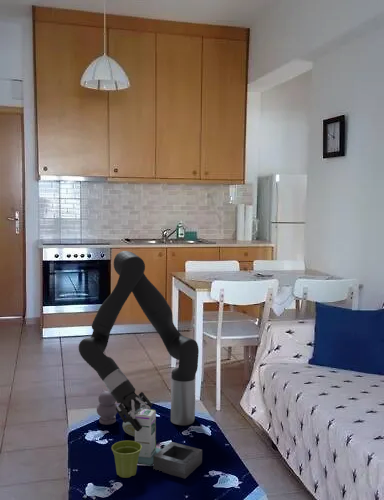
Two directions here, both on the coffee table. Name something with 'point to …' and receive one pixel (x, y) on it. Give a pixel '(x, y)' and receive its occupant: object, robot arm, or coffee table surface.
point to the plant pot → (126, 457)
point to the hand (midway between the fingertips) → (147, 425)
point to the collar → (177, 459)
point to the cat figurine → (106, 408)
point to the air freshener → (129, 427)
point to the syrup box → (146, 432)
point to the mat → (148, 460)
